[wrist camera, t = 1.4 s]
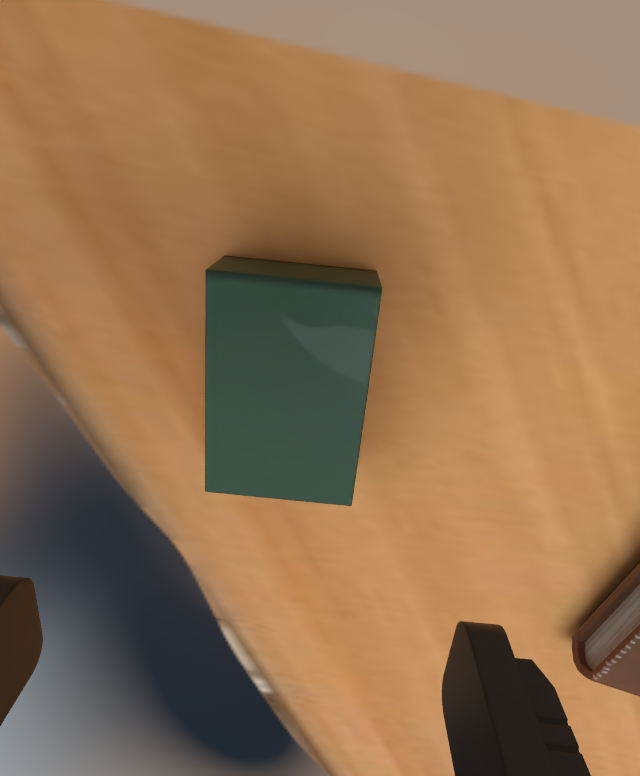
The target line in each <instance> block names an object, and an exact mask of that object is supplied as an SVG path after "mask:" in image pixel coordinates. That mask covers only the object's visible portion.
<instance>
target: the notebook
mask: <svg viewBox="0 0 640 776" xmlns="http://www.w3.org/2000/svg"><path fill="white" fill-rule="evenodd" d="M381 294H382V286H381V283H380V280H379V277H378V274H377V271H373V270H362V269H352V268H342V267H332V266H322V265H312V264H302V263H292V262H282V261H272V260H262V259H252V258H242V257H232V256H224V257H222V258H221V259H220V260H218V261H217V262H216V263H214V264H213V265H212V266H210V267H209V268H208V269H206V337H205V491H206V492H214V493H225V494H235V495H245V496H255V497H265V498H275V499H285V500H295V501H305V502H316V503H326V504H336V505H346V506H351V505H352V500H353V493H354V485H355V478H356V471H357V464H358V457H359V450H360V443H361V436H362V429H363V421H364V414H365V407H366V400H367V393H368V386H369V379H370V372H371V365H372V357H373V350H374V343H375V336H376V329H377V322H378V315H379V308H380V301H381Z"/></svg>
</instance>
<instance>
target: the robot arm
mask: <svg viewBox="0 0 640 776" xmlns="http://www.w3.org/2000/svg"><path fill="white" fill-rule="evenodd" d="M42 642H43V636H42V629H41V623H40V618H39V612H38V606H37V600H36V594H35V588H34V584H33V582H32V580H31V579H29V578H22V577H11V576H1V575H0V726H1V724H2V722H3V721H4V719H5V717H6V716H7V714H8V712H9V711H10V709H11V708H12V706H13V704H14V703H15V701H16V699H17V698H18V696H19V695H20V693H21V691H22V690H23V688H24V686H25V685H26V683H27V681H28V680H29V678H30V677H31V675H32V673H33V671H34V669H35V667H36V665H37V663H38V659H39V657H40V653H41V649H42ZM442 705H443V714H444V719H445V725H446V730H447V735H448V740H449V746H450V751H451V756H452V761H453V767H454V772H455V776H591V775H590V773H589V770H588V768H587V765H586V763H585V761H584V758H583V756H582V754H580V753H579V749H578V748H579V746H578V744H577V741H576V739H575V736H574V734H573V732H572V729H571V727H570V726H568V723H567V720H568V719H567V717H566V715H565V712H564V710H563V707H562V705H561V702H560V700H559V698H558V695H557V693H556V690H555V688H554V687H553V685H552V684H551V683H550V682H549V680H548V679H547V678H546V677H545V675H544V674H543V673H542V672H541V670H540V669H539V668H538V667H537V666H536V664H535V663H534V662H533V661H532V660H529V659H519V658H515V657H514V654H513V651H512V649H511V646H510V643H509V640H508V637H507V635H506V632H505V630H504V629H503V627H502V626H500V625H494V624H484V623H474V622H463V621H460V622H459V623H458V624H457V627H456V630H455V634H454V638H453V642H452V645H451V649H450V653H449V657H448V661H447V664H446V668H445V672H444V676H443V683H442Z"/></svg>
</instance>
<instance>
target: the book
mask: <svg viewBox="0 0 640 776" xmlns="http://www.w3.org/2000/svg"><path fill="white" fill-rule="evenodd" d="M572 652H573V660H574V663H575V665H576V667H577V670H578V671H579V672H580V673H581V674H582V675H584V676H585V677H586V678H588V679H590V680H592V681H594V682H598V683H601V684H604V685H607V686H610V687H613V688H616V689H619V690H622V691H625V692H628V693H631V694H634V695H637V696H640V563H639V564H638V565H637V566H636V568H635V569H634V570H633V571H632V572H631V573H630V574H629V575H628V576H627V577H626V578H625V579H624V581H623V582H622V583H621V584H620V585H619V586H618V587H617V588H616V589H615V590H614V591H613V592H612V594H611V595H610V596H609V597H608V598H607V599H606V600H605V601H604V602H603V603H602V604H601V605H600V607H599V608H598V609H597V610H596V611H595V612H594V613H593V614H592V615H591V616H590V617H589V619H588V620H587V621H586V622H585V623H584V624H583V625H582V626H581V627H580V628H579V629H578V630H577V632H576V633H575V634H574V635H573V638H572Z"/></svg>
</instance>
